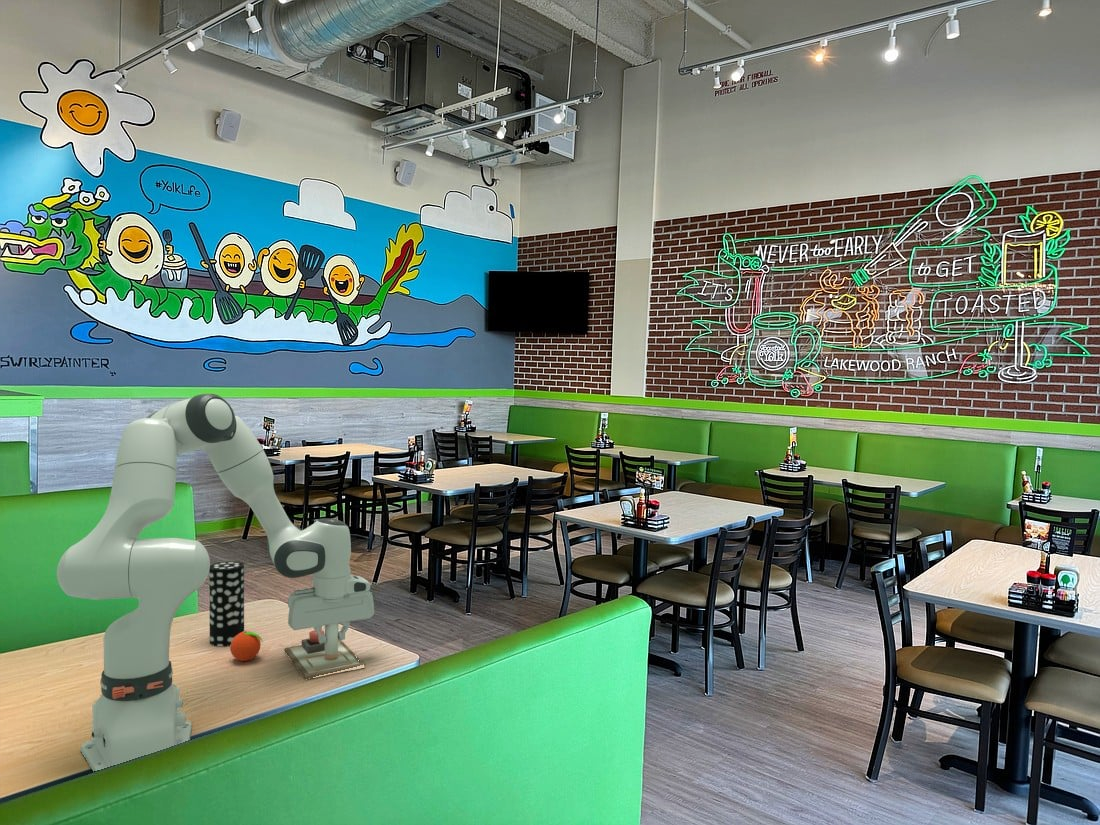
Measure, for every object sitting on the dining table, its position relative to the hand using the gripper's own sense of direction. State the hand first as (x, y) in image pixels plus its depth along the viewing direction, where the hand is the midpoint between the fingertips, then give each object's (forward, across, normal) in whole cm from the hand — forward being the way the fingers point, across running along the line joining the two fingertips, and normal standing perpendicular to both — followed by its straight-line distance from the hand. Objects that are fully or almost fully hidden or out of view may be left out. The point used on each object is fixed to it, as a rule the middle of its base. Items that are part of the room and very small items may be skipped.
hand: (331, 641), depth 186 cm
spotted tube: (+6, -19, +28) cm, 34 cm away
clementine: (+6, -17, +12) cm, 22 cm away
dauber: (+4, 0, 0) cm, 4 cm away
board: (+5, -1, +3) cm, 6 cm away
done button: (+2, -1, +9) cm, 9 cm away
